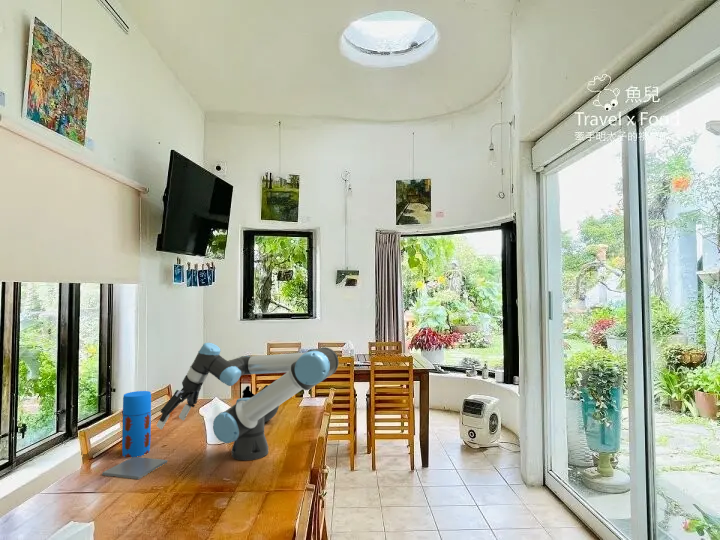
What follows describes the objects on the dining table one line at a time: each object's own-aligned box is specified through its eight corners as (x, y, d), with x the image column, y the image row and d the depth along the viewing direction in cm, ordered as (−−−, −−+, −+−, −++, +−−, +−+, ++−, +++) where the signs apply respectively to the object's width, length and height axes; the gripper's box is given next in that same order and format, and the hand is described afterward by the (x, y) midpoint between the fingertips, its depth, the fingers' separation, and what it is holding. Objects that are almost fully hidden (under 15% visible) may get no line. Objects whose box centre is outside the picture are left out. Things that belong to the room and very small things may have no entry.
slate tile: (167, 462, 175) (167, 460, 175) (138, 479, 159) (138, 476, 159) (133, 459, 179) (133, 456, 179) (102, 475, 163) (102, 472, 163)
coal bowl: (287, 420, 231) (287, 384, 231) (259, 431, 214) (259, 392, 215) (260, 414, 241) (260, 380, 242) (231, 424, 224) (232, 387, 225)
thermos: (138, 458, 179) (139, 397, 180) (115, 456, 181) (117, 396, 182) (155, 449, 190) (156, 391, 191) (134, 447, 192) (135, 390, 193)
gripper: (205, 369, 190) (183, 410, 191) (167, 378, 166) (141, 425, 167) (218, 378, 188) (195, 420, 189) (182, 389, 164) (156, 437, 165)
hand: (170, 422), depth 178 cm, fingers open, 13 cm apart
